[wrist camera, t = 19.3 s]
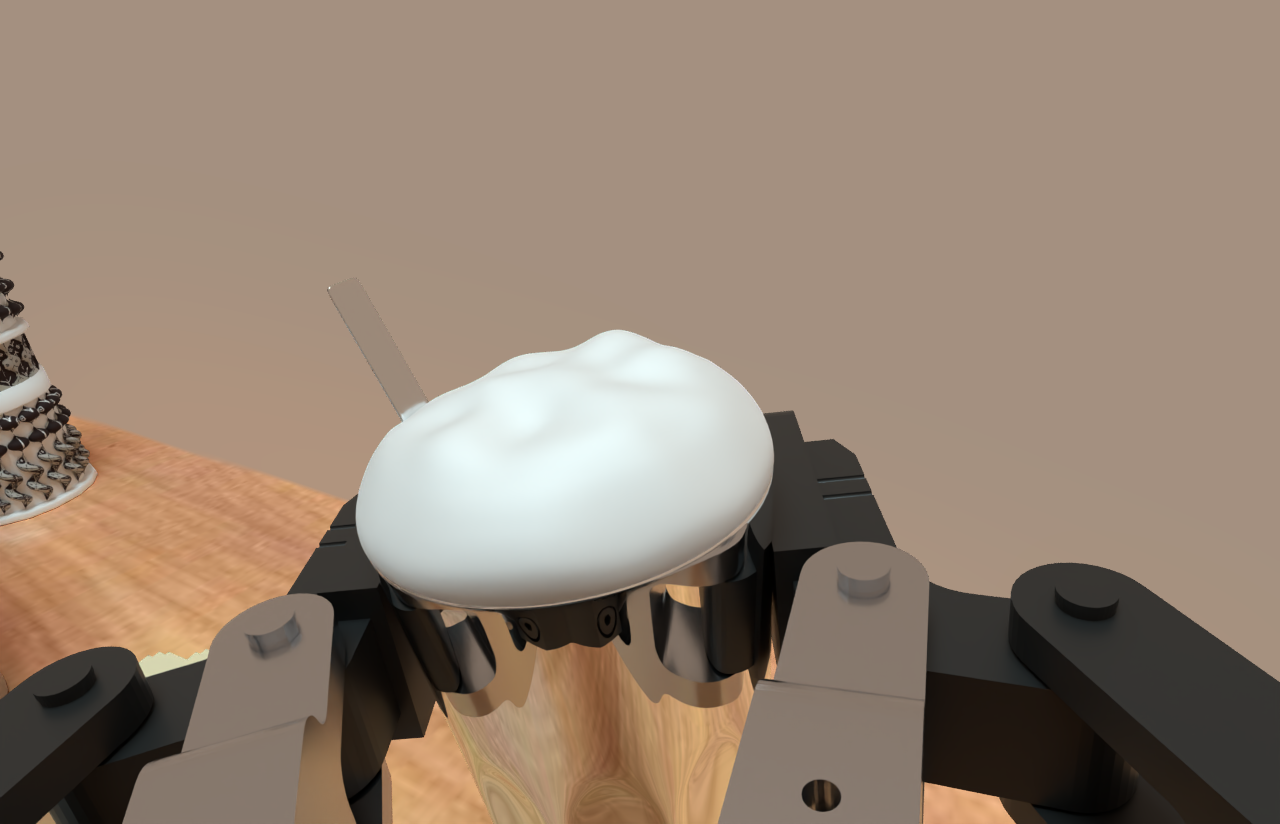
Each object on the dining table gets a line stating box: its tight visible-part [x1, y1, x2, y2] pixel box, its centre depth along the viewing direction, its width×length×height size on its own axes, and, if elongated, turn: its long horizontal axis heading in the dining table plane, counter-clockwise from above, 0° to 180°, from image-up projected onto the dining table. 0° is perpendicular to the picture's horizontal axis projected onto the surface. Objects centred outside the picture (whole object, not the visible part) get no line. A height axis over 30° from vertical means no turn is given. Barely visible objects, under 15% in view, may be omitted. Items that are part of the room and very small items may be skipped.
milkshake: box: [327, 278, 774, 824], centre depth 11 cm, size 4×5×10 cm
